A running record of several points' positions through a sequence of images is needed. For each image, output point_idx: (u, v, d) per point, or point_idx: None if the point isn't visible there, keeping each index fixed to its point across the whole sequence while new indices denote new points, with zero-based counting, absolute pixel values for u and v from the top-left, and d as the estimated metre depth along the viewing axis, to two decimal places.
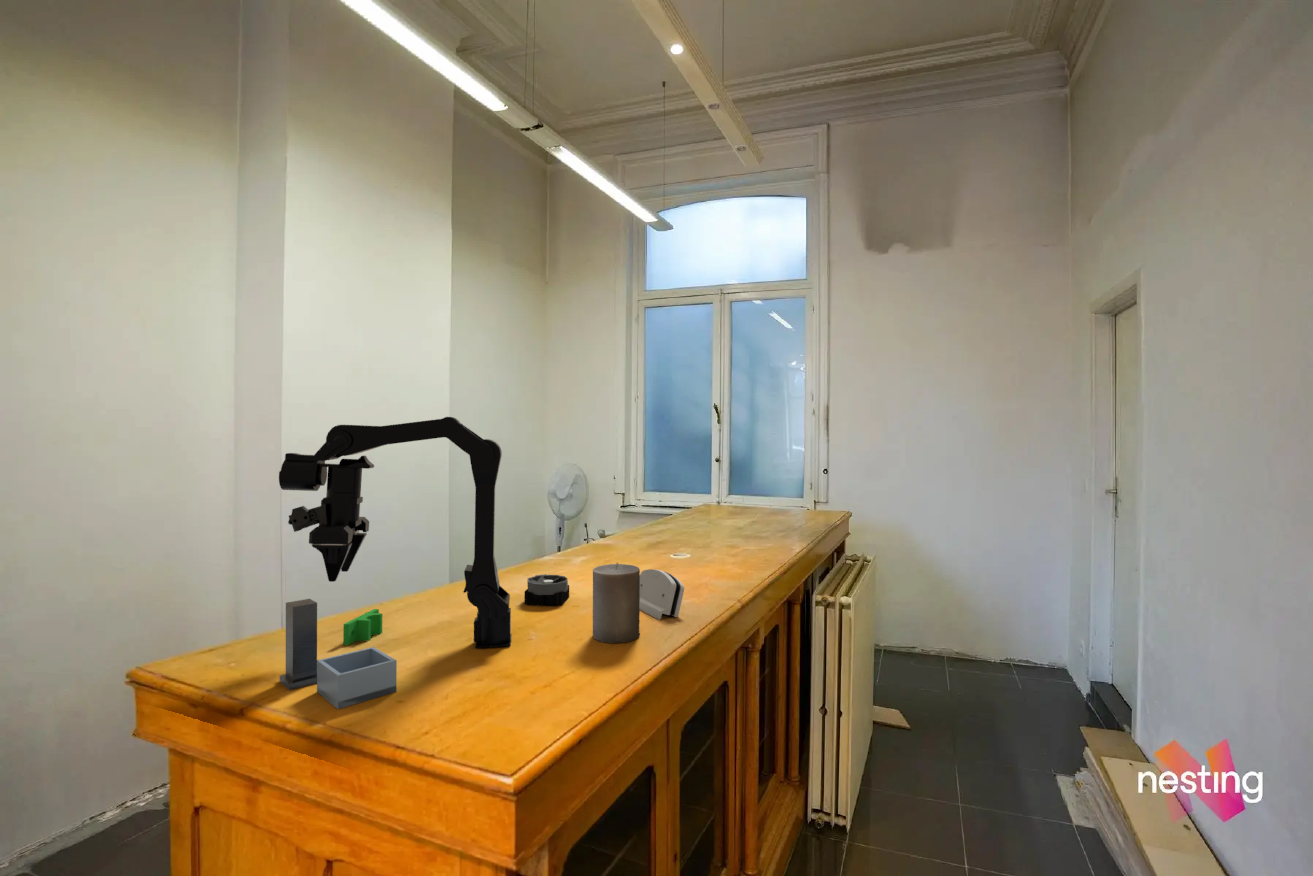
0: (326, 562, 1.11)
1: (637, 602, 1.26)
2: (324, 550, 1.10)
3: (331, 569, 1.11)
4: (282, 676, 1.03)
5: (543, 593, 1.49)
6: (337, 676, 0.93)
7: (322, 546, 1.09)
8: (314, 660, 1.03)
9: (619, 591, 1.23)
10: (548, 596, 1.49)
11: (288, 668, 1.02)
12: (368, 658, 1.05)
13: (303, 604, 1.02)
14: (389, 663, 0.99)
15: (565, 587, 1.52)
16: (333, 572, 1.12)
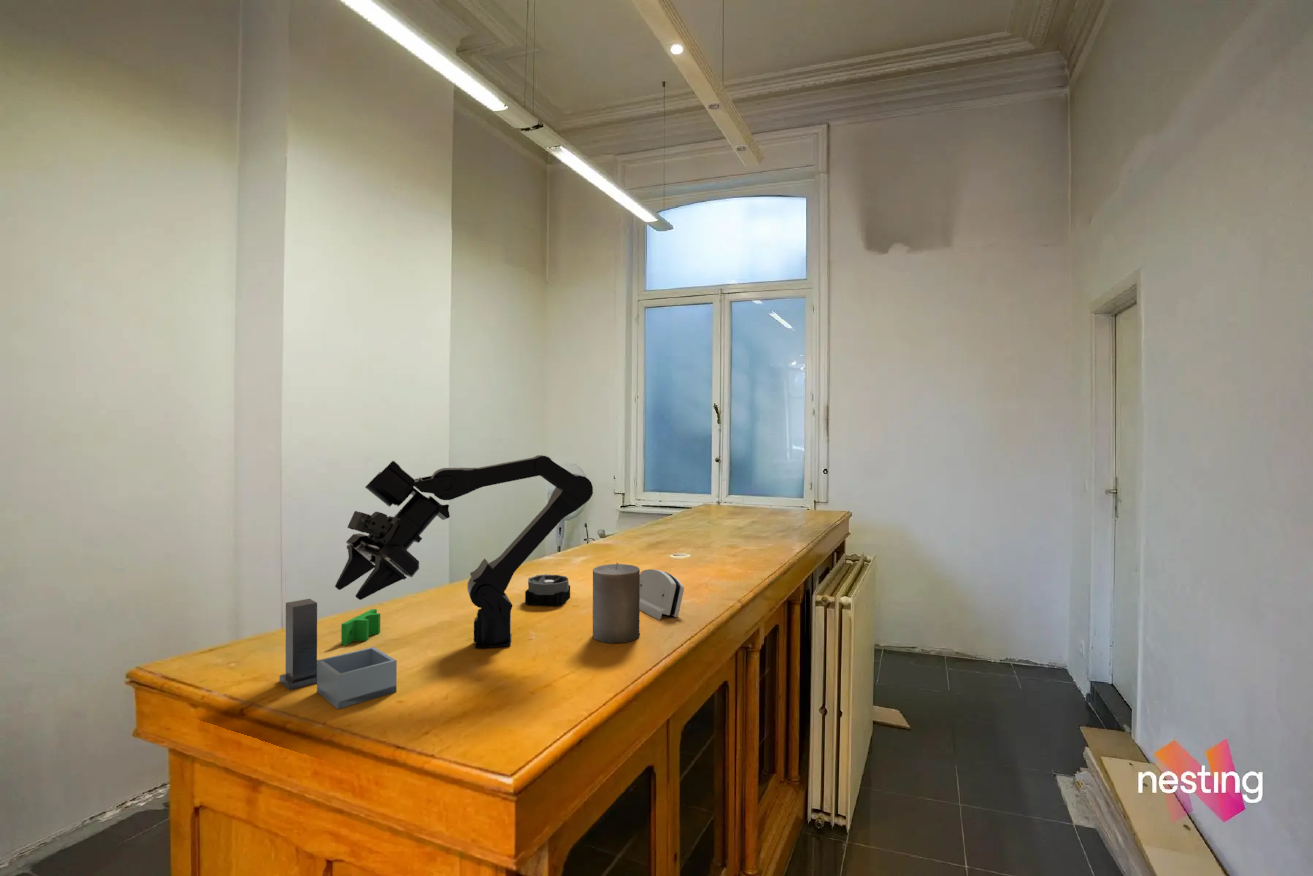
0: (372, 579, 1.06)
1: (637, 602, 1.26)
2: (382, 568, 1.06)
3: (368, 587, 1.06)
4: (282, 676, 1.03)
5: (544, 593, 1.49)
6: (337, 676, 0.93)
7: (390, 565, 1.06)
8: (314, 660, 1.03)
9: (619, 591, 1.23)
10: (549, 596, 1.49)
11: (288, 668, 1.02)
12: (368, 658, 1.05)
13: (303, 604, 1.02)
14: (389, 663, 0.99)
15: (566, 587, 1.51)
16: (367, 591, 1.06)
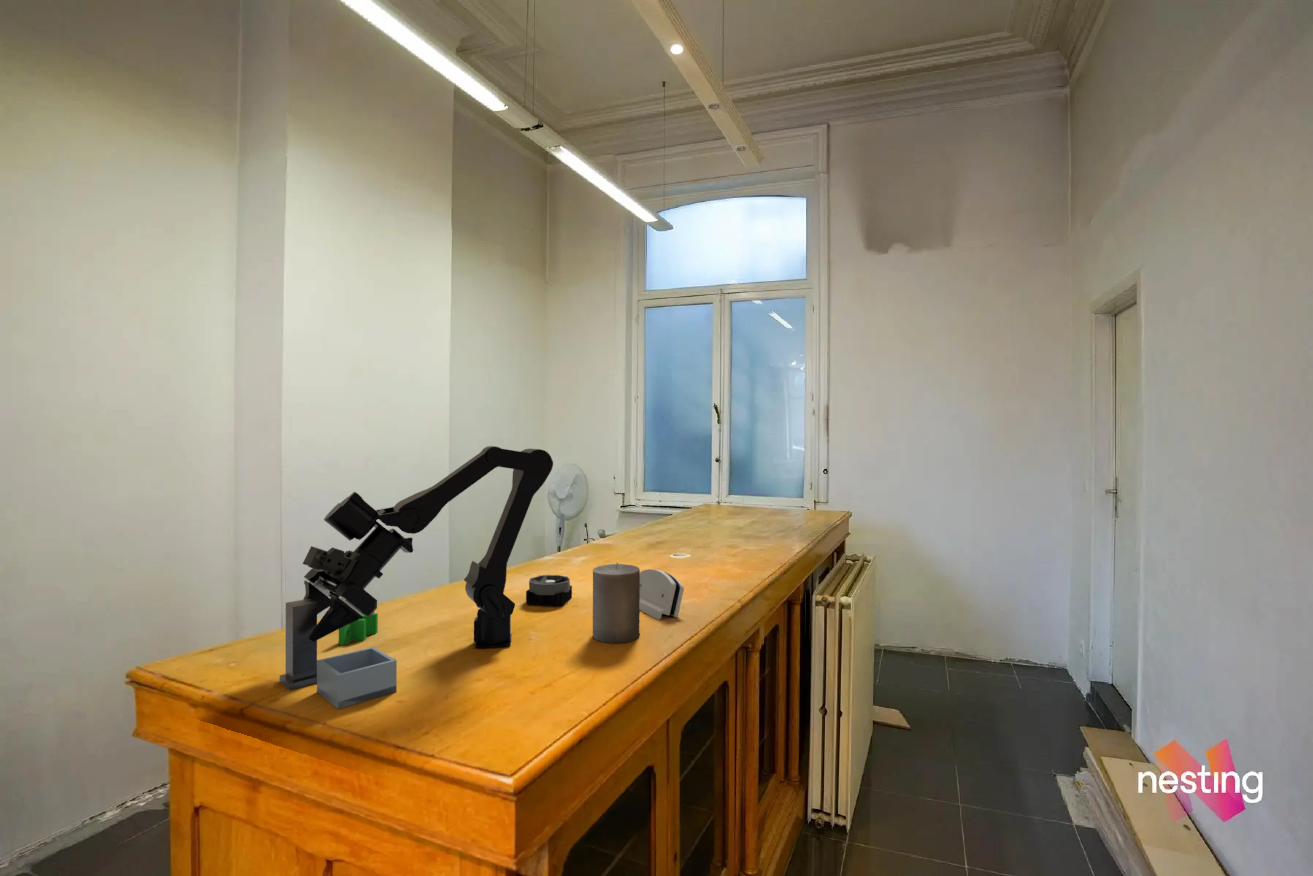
0: (326, 619, 1.01)
1: (637, 602, 1.26)
2: (337, 607, 1.01)
3: (322, 628, 1.01)
4: (282, 676, 1.03)
5: (544, 593, 1.48)
6: (337, 676, 0.93)
7: (345, 605, 1.01)
8: (314, 660, 1.03)
9: (619, 591, 1.23)
10: (549, 596, 1.49)
11: (288, 668, 1.02)
12: (368, 658, 1.05)
13: (303, 604, 1.02)
14: (389, 663, 0.99)
15: (566, 587, 1.51)
16: (321, 632, 1.01)
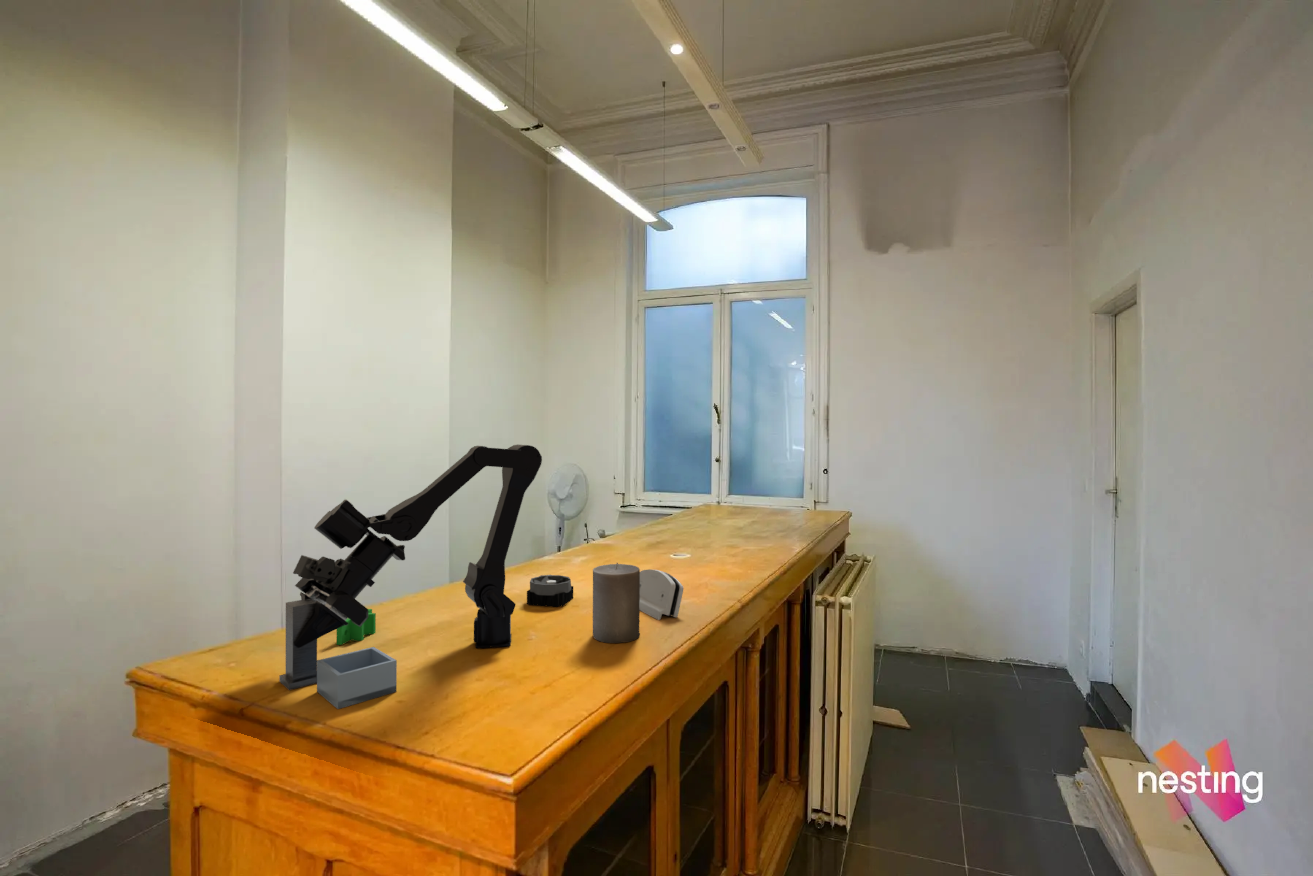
0: (311, 626, 1.01)
1: (637, 602, 1.26)
2: (322, 614, 1.02)
3: (307, 635, 1.02)
4: (282, 676, 1.03)
5: (544, 593, 1.48)
6: (337, 676, 0.93)
7: (330, 611, 1.01)
8: (314, 660, 1.03)
9: (619, 591, 1.23)
10: (549, 596, 1.49)
11: (288, 668, 1.02)
12: (368, 658, 1.05)
13: (303, 604, 1.02)
14: (389, 663, 0.99)
15: (567, 588, 1.51)
16: (307, 639, 1.02)
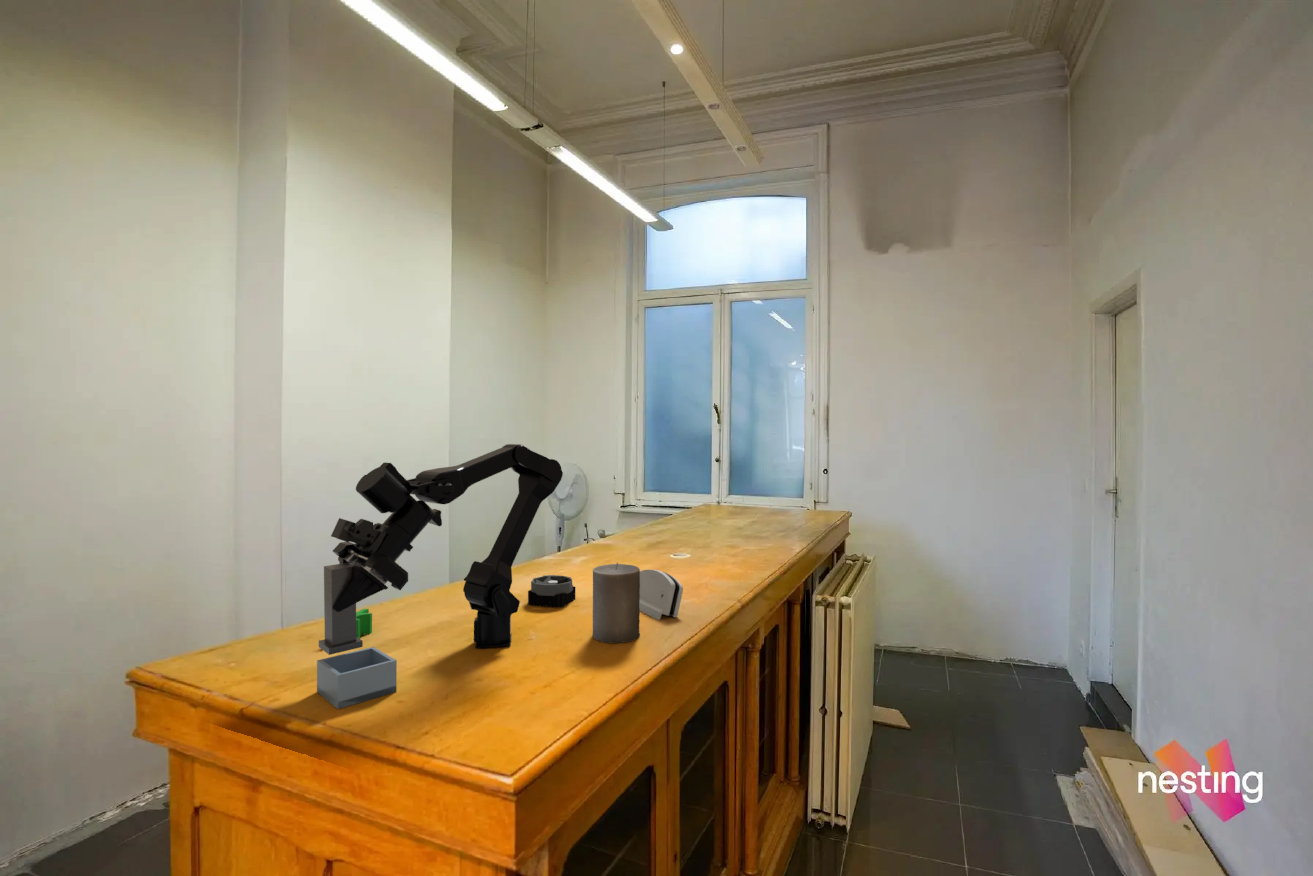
0: (351, 589, 0.99)
1: (637, 602, 1.26)
2: (361, 577, 0.99)
3: (346, 598, 0.99)
4: (321, 641, 1.01)
5: (544, 594, 1.48)
6: (337, 676, 0.93)
7: (369, 574, 0.99)
8: (353, 625, 1.01)
9: (619, 591, 1.23)
10: (549, 597, 1.48)
11: (327, 633, 1.00)
12: (368, 658, 1.05)
13: (341, 567, 1.00)
14: (389, 663, 0.99)
15: (568, 588, 1.50)
16: (346, 602, 0.99)
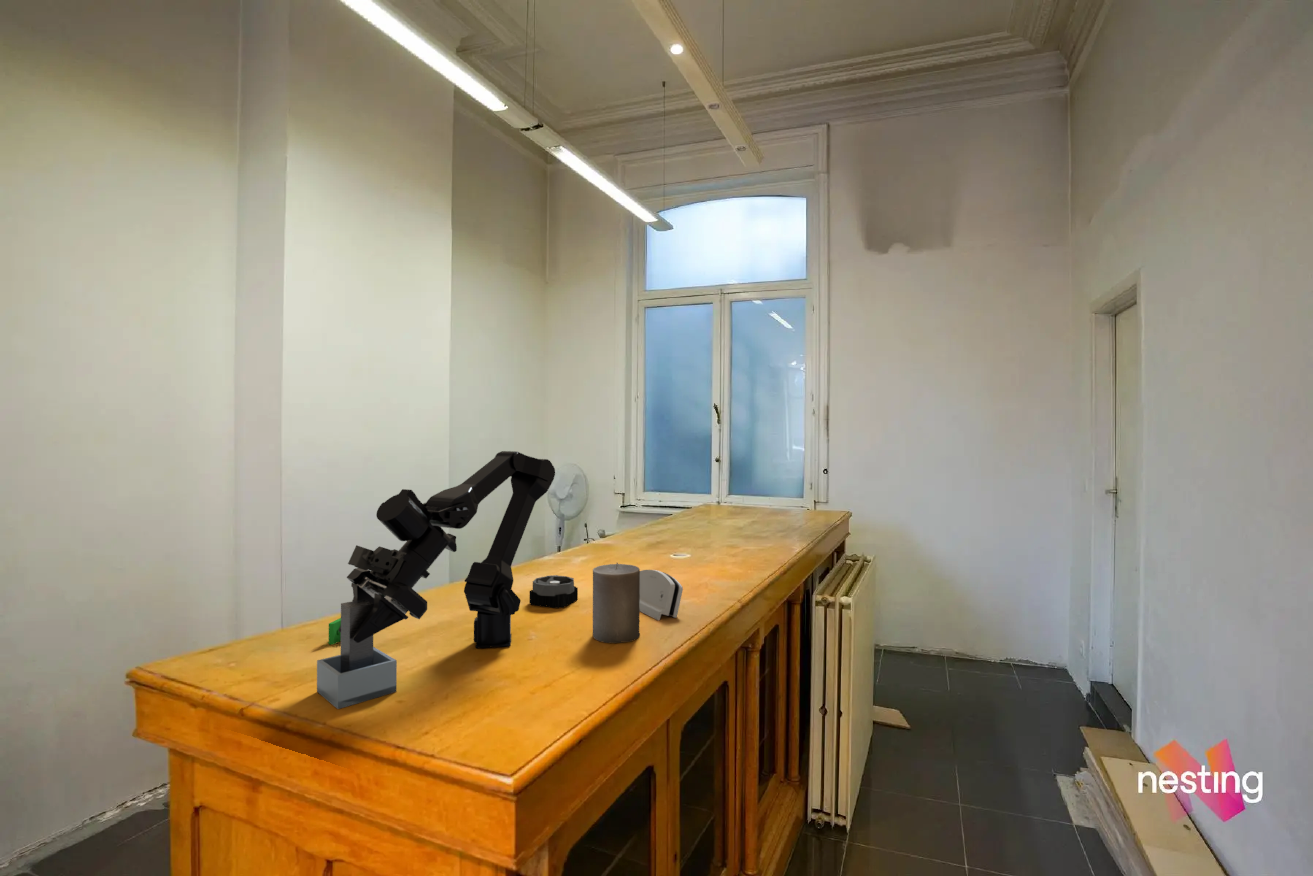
0: (371, 620, 0.97)
1: (637, 602, 1.26)
2: (381, 607, 0.98)
3: (366, 629, 0.97)
4: None
5: (545, 594, 1.48)
6: (337, 676, 0.93)
7: (390, 604, 0.97)
8: (370, 663, 0.99)
9: (619, 591, 1.23)
10: (550, 597, 1.48)
11: (343, 671, 0.99)
12: None
13: (359, 605, 0.98)
14: (389, 663, 0.99)
15: (568, 589, 1.49)
16: (366, 633, 0.97)
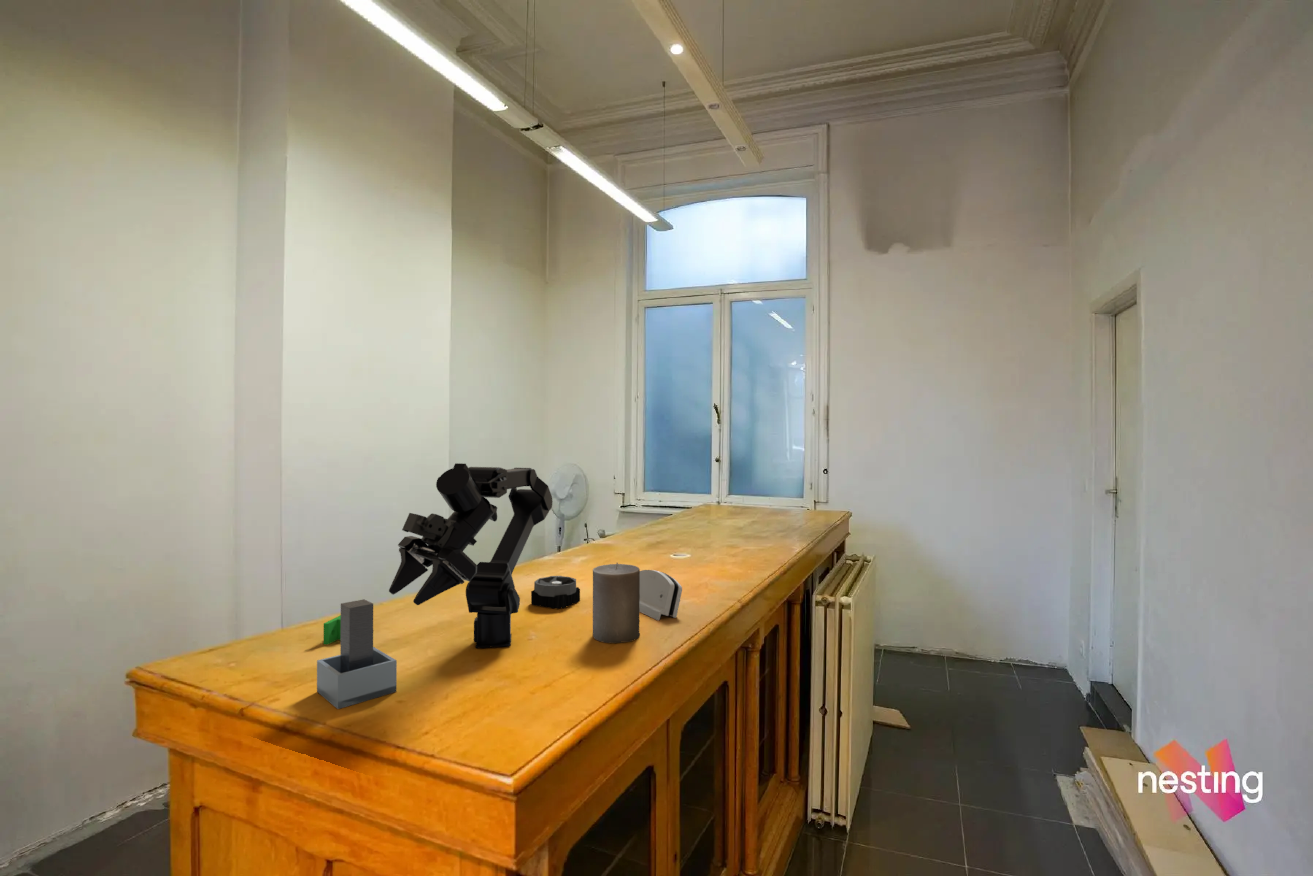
0: (430, 583, 1.02)
1: (637, 602, 1.26)
2: (440, 572, 1.03)
3: (425, 592, 1.02)
4: None
5: (545, 594, 1.47)
6: (337, 676, 0.93)
7: (448, 569, 1.02)
8: (370, 663, 0.99)
9: (619, 591, 1.23)
10: (550, 598, 1.47)
11: (343, 671, 0.99)
12: None
13: (359, 605, 0.98)
14: (389, 663, 0.99)
15: (569, 590, 1.49)
16: (425, 596, 1.02)
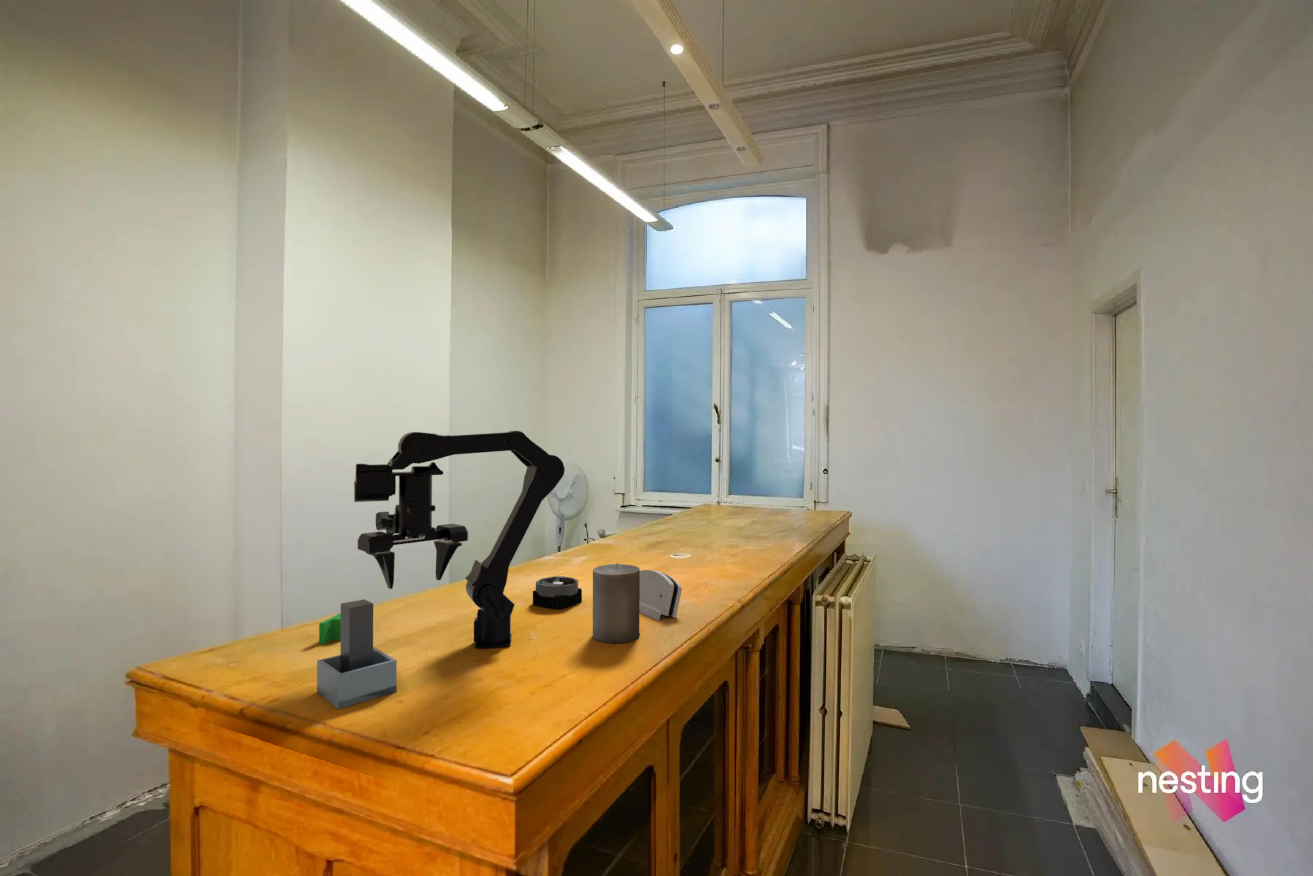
0: (381, 568, 1.13)
1: (637, 602, 1.26)
2: (377, 556, 1.12)
3: (386, 576, 1.12)
4: None
5: (545, 595, 1.47)
6: (337, 676, 0.93)
7: (368, 552, 1.11)
8: (370, 663, 0.99)
9: (619, 591, 1.23)
10: (550, 598, 1.47)
11: (343, 671, 0.99)
12: None
13: (359, 605, 0.98)
14: (389, 663, 0.99)
15: (569, 591, 1.48)
16: (387, 579, 1.12)
